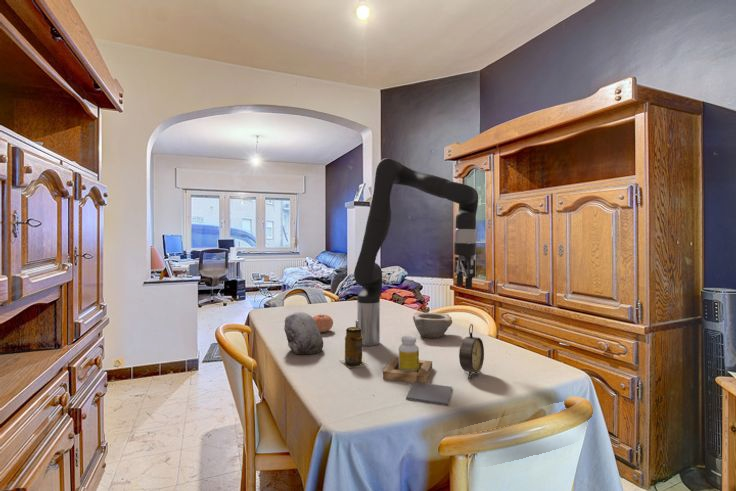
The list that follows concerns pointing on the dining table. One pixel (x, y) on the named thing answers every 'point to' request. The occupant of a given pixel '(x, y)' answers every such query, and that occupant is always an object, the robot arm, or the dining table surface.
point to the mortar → (432, 324)
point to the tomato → (323, 322)
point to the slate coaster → (429, 393)
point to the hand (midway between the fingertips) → (464, 287)
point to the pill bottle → (408, 354)
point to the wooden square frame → (407, 372)
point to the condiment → (353, 348)
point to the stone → (302, 334)
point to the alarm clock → (471, 354)
